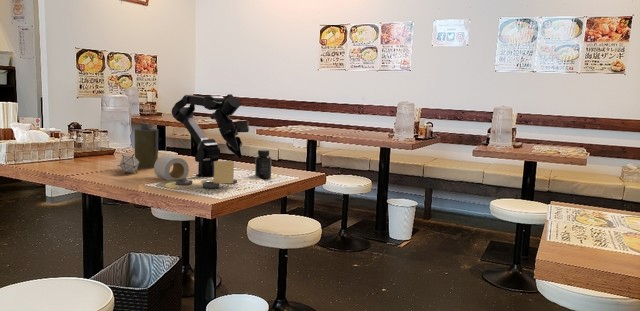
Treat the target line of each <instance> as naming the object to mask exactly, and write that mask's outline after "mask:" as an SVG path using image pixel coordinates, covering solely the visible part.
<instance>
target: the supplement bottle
mask: <svg viewBox="0 0 640 311" xmlns="http://www.w3.org/2000/svg"><path fill="white" fill-rule="evenodd" d="M254 163H255V166H254V167H255V169H254V170H255V172H254V175H255V177H258V178H260V179H261V180H268V179H272V157H271V156H270V150H268V149H258V151H257V156H256V157H255V162H254Z"/></svg>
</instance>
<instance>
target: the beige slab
mask: <svg viewBox="0 0 640 311" xmlns="http://www.w3.org/2000/svg"><path fill="white" fill-rule="evenodd" d="M234 168H235V161H233V160H225V161H224V160H223V161H222V160H218V161H214V176H213V181H211V182H204V183H202V188H203V189H206V190H217V189H220V186H221V185H220V184H223V183H233V179H234V173H235V172H234V171H235V170H234Z"/></svg>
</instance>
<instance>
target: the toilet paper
mask: <svg viewBox="0 0 640 311" xmlns="http://www.w3.org/2000/svg"><path fill="white" fill-rule="evenodd" d="M171 167H172V170H171ZM153 170H154V173H155V176H157V177H158V178H159V179H162V180H167V181H173V180H175V181H177V180H187V179H186V178H187V177H188V176H189V171H190V168H189V164H188V162H187V161H186V160H184V159H183V158H181V157H177V156H174V155H171V154H163V155H160V156H158V159H157V160H156V162H155V164H154V168H153ZM170 170H171V172H170Z"/></svg>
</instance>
